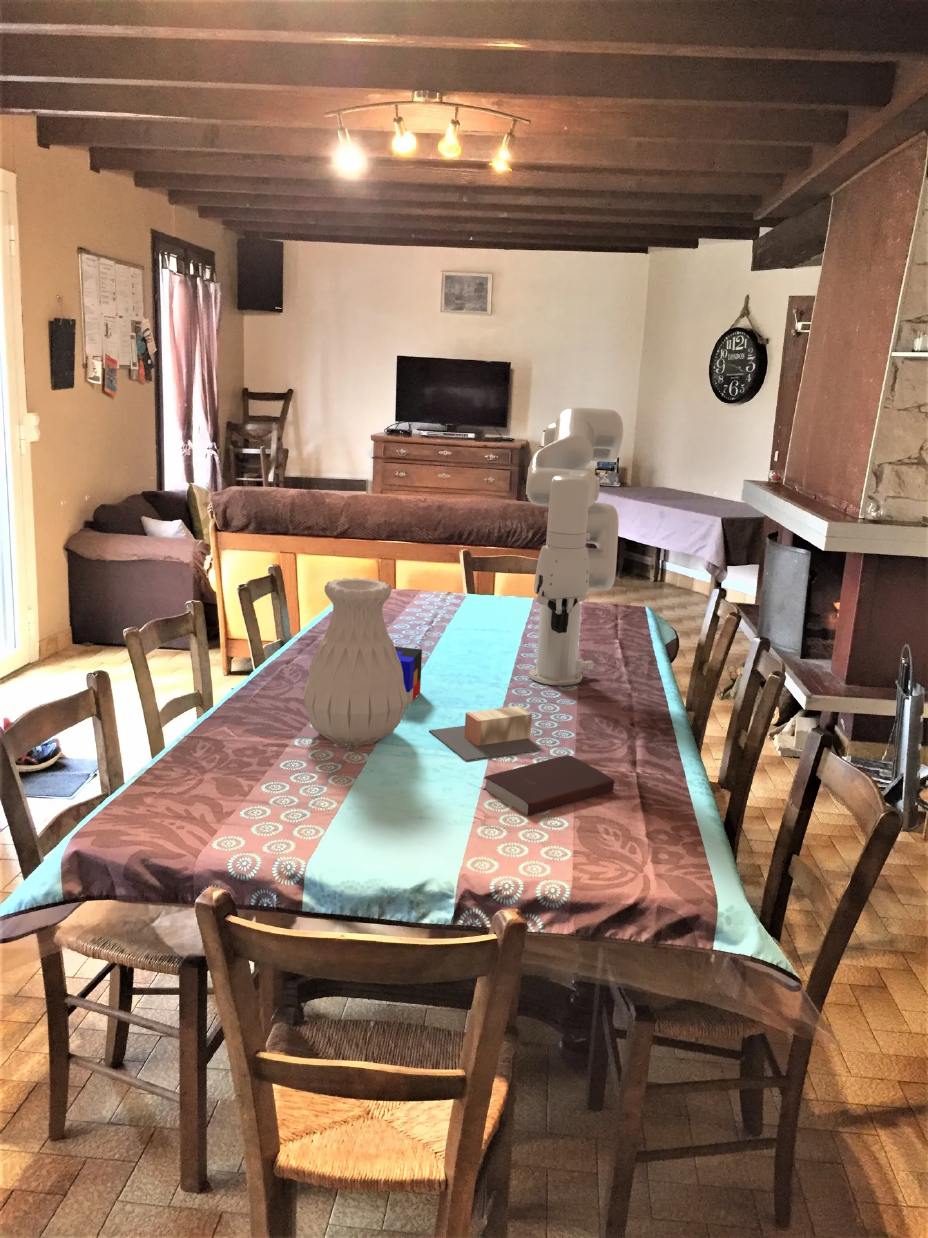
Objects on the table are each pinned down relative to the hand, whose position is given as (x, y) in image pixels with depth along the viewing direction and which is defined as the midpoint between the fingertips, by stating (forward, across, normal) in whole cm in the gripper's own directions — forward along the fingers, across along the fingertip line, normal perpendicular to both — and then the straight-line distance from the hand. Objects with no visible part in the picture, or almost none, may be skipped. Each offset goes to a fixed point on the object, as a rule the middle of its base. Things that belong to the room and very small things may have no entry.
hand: (558, 631), depth 191 cm
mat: (+20, +16, +1) cm, 26 cm away
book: (+20, +17, +26) cm, 37 cm away
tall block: (+18, +7, +1) cm, 19 cm away
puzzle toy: (+22, +23, -29) cm, 42 cm away
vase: (+20, +39, -10) cm, 45 cm away
